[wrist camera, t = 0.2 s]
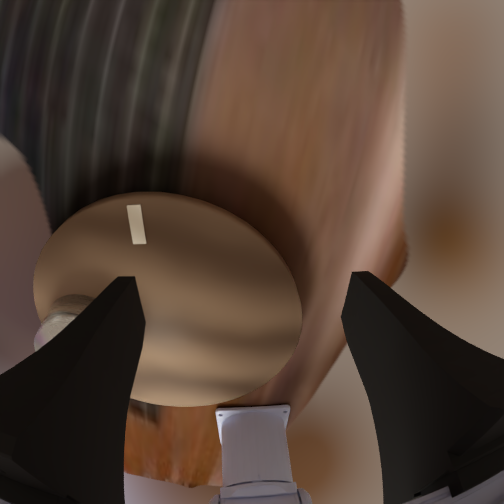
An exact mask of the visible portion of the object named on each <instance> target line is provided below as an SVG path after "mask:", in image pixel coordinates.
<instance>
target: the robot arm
mask: <svg viewBox="0 0 504 504" xmlns="http://www.w3.org/2000/svg"><path fill="white" fill-rule="evenodd" d="M341 319H342V323H343V328H344V332H345V336H346V340H347V343H348V346H349V348H350V351H351V353H352V356H353V359H354V361H355V364H356V366H357V369H358V372H359V374H360V377H361V379H362V382H363V385H364V387H365V390H366V393H367V396H368V399H369V402H370V406H371V410H372V415H373V419H374V423H375V429H376V434H377V440H378V445H379V452H380V459H381V468H382V479H383V496H384V497H383V498H384V504H504V359H502V358H500V357H497V356H495V355H493V354H490V353H488V352H486V351H484V350H482V349H480V348H478V347H476V346H474V345H472V344H470V343H468V342H466V341H465V340H463V339H461V338H459V337H458V336H456V335H454V334H453V333H451V332H450V331H448V330H446V329H445V328H443V327H442V326H440V325H439V324H437V323H436V322H434V321H433V320H432V319H430V318H429V317H427V316H426V315H425V314H423V313H422V312H421V311H419V310H418V309H417V308H415V307H414V306H413V305H411V304H410V303H409V302H407V301H406V300H405V299H404V298H402V297H401V296H400V295H399V294H397V293H396V292H395V291H394V290H392V289H391V288H390V287H389V286H387V285H386V284H385V283H384V282H382V281H381V280H380V279H378V278H377V277H376V276H374V275H373V274H372V273H370V272H369V271H360V272H352V274H351V278H350V283H349V287H348V291H347V295H346V299H345V303H344V307H343V311H342V315H341ZM145 326H146V320H145V316H144V312H143V308H142V304H141V300H140V296H139V292H138V287H137V283H136V278H135V276H118V277H117V278H116V279H115V280H113V281H112V282H111V283H110V284H109V285H108V286H107V287H106V288H105V289H104V290H103V291H102V292H101V293H100V294H99V295H98V296H97V297H96V298H95V299H94V300H93V301H92V302H91V303H90V304H89V305H88V306H87V307H86V308H85V309H84V310H83V311H82V312H81V313H80V314H79V315H78V316H77V317H76V318H75V319H74V320H72V321H71V322H70V323H69V324H68V325H67V326H66V327H65V328H64V329H63V330H62V331H61V332H59V333H58V334H57V335H56V336H55V337H54V338H52V339H51V340H50V341H49V342H47V343H46V344H45V345H44V346H42V347H41V348H40V349H39V350H37V351H36V352H35V353H33V354H32V355H30V356H29V357H27V358H26V359H24V360H23V361H21V362H20V363H18V364H17V365H15V366H14V367H13V368H11V369H9V370H8V371H6V372H4V373H3V374H1V375H0V504H125V500H124V443H125V429H126V419H127V411H128V405H129V400H130V396H131V392H132V388H133V384H134V380H135V376H136V372H137V368H138V364H139V360H140V356H141V352H142V348H143V341H144V334H145ZM289 413H290V406H289V405H276V406H261V407H238V408H217V409H216V418H217V424H218V430H219V436H220V442H221V444H222V474H223V487H222V488H220V495H214V497H213V498H212V499H211V500H210V501H209V504H312V501H311V497H310V495H309V493H308V492H306V491H305V490H304V489H303V488H299V489H297V487H296V482H293V480H292V473H291V467H290V460H289V453H288V446H287V440H286V433H285V430H286V426H287V422H288V417H289Z"/></svg>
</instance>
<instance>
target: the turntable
mask: <svg viewBox="0 0 504 504" xmlns="http://www.w3.org/2000/svg"><path fill="white" fill-rule="evenodd" d="M118 276H135V278H136V283H137V287H138V292H139V296H140V300H141V304H142V308H143V312H144V316H145V320H146V326H145V334H144V341H143V348H142V352H141V356H140V360H139V364H138V368H137V372H136V376H135V380H134V384H133V388H132V392H131V396H130V398H133V399H136V400H139V401H143V402H148V403H152V404H158V405H165V406H178V407H192V406H205V405H211V404H217V403H222V402H226V401H229V400H233V399H236V398H238V397H241V396H244V395H246V394H248V393H250V392H252V391H254V390H256V389H258V388H259V387H261V386H262V385H264V384H266V383H267V382H268V381H270V380H271V379H272V378H273V377H274V376H276V375H277V374H278V373H279V372H280V371H281V370H282V368H283V367H284V366H285V365H286V364H287V362H288V361H289V359H290V358H291V356H292V355H293V353H294V351H295V349H296V346H297V344H298V342H299V338H300V334H301V330H302V308H301V301H300V298H299V295H298V291H297V288H296V285H295V281H294V278H293V276H292V274H291V272H290V270H289V268H288V266H287V264H286V262H285V261H284V259H283V258H282V256H281V255H280V254H279V252H278V251H277V249H276V248H275V247H274V246H273V245H272V244H271V243H270V242H269V241H268V240H267V239H266V238H265V237H264V236H263V235H262V234H261V233H260V232H259V231H257V230H256V229H255V228H254V227H252V226H251V225H250V224H248V223H247V222H246V221H244V220H243V219H241V218H239V217H237V216H236V215H234V214H232V213H231V212H229V211H227V210H225V209H223V208H220V207H218V206H216V205H213V204H211V203H208V202H206V201H203V200H199V199H196V198H192V197H188V196H185V195H180V194H173V193H166V192H132V193H124V194H117V195H114V196H111V197H107V198H104V199H100V200H98V201H96V202H93V203H91V204H89V205H87V206H85V207H83V208H81V209H80V210H79V211H77V212H76V213H74V214H73V215H71V216H70V217H69V218H68V219H67V220H66V221H65V222H64V223H63V224H62V225H61V226H60V227H59V228H58V229H57V230H56V231H55V232H54V233H53V235H52V236H51V237H50V238H49V240H48V241H47V243H46V244H45V246H44V247H43V249H42V251H41V253H40V256H39V258H38V261H37V264H36V268H35V273H34V284H33V291H34V300H35V305H36V309H37V312H38V316H39V318H40V321H41V323H42V322H43V320H44V319H45V317H46V315H47V313H48V311H49V310H50V308H51V306H52V304H53V303H54V302H55V301H56V300H57V299H58V298H60V297H62V296H65V295H70V294H79V295H85V296H89V297H93V298H96V297H97V296H98V295H99V294H100V293H101V292H102V291H103V290H104V289H105V288H106V287H107V286H108V285H109V284H110V283H111V282H112V281H113V280H115V279H116V278H117V277H118Z"/></svg>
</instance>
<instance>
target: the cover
mask: <svg viewBox="0 0 504 504" xmlns="http://www.w3.org/2000/svg"><path fill="white" fill-rule="evenodd" d="M94 299H95V298H93V297H89V296H85V295H79V294H70V295H65V296H62V297H60V298H58V299H57V300H56V301H55V302H54V303H53V304H52V306H51V308H50V310H49V311H48V313H47V315H46V317H45V319H44V320H43V322H42V324H41V326H40V328H39V330H38V332H37V333H36V336H35V339H34V348H35V351H37V350H39V349H40V348H41V347H42V346H44V345H45V344H46V343H47V342H49V341H50V340H51V339H52V338H54V337H55V336H56V335H57V334H58V333H59V332H61V331H62V330H63V329H64V328H65V327H66V326H67V325H68V324H69V323H70V322H71V321H72V320H74V319H75V318H76V317H77V316H78V315H79V314H80V313H81V312H82V311H83V310H84V309H85V308H86V307H87V306H88V305H89V304H90V303H91V302H92V301H93V300H94Z"/></svg>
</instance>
